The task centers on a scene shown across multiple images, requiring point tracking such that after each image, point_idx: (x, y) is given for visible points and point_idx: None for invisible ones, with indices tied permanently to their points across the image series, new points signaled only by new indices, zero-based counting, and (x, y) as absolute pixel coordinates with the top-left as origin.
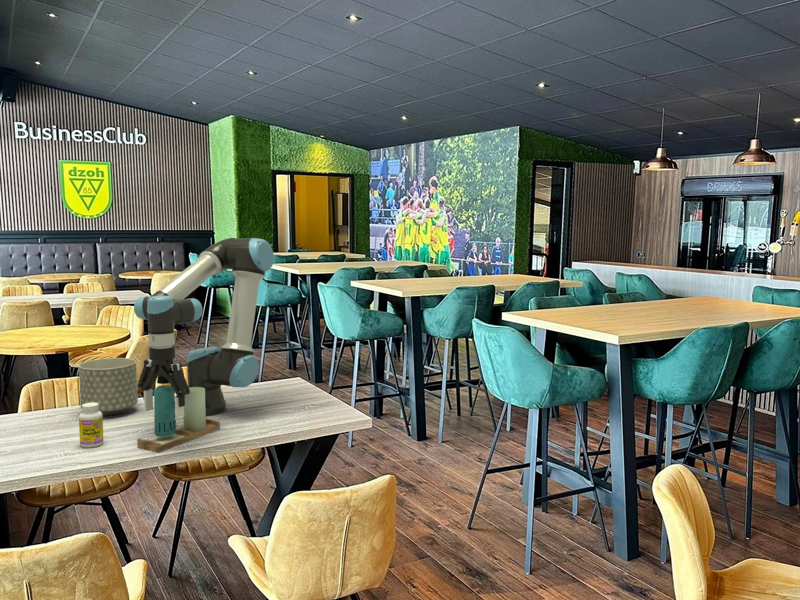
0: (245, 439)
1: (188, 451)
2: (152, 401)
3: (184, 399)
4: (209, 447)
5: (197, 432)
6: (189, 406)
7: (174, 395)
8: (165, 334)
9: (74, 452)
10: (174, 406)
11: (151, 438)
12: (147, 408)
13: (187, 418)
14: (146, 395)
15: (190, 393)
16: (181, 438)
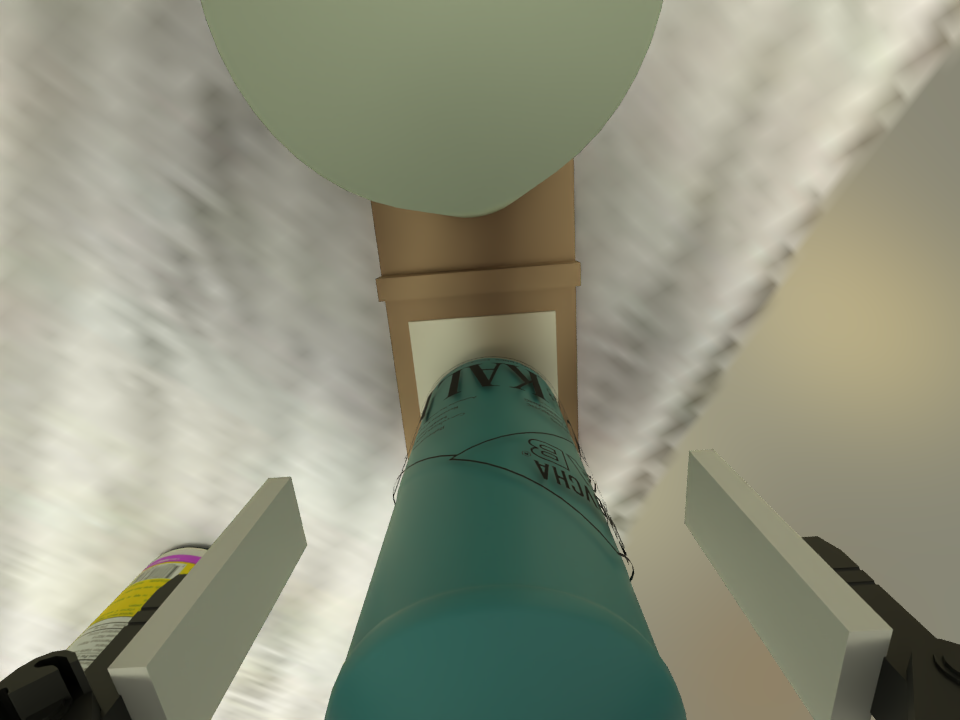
0: (908, 18)
1: (701, 401)
2: (250, 532)
3: (897, 609)
4: (768, 291)
5: (564, 194)
6: (511, 201)
7: (619, 578)
8: None
9: (253, 667)
10: (591, 491)
11: (414, 439)
12: (293, 549)
13: (481, 214)
14: (221, 685)
15: (546, 175)
16: (567, 342)
